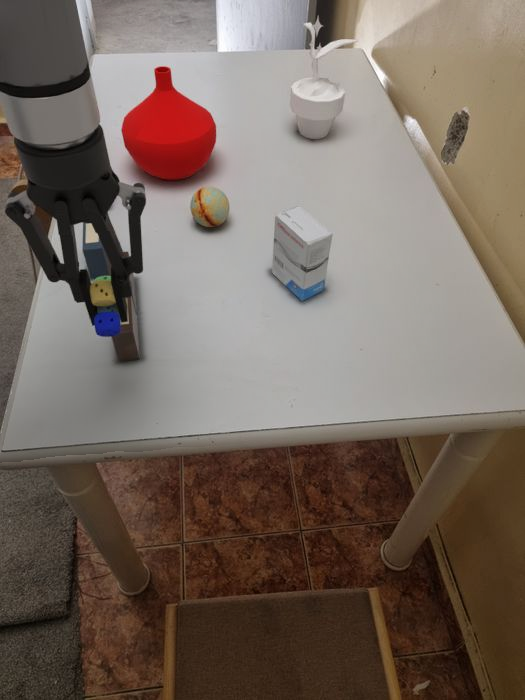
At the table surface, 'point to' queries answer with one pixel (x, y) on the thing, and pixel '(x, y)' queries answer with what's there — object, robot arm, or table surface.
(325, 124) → the potted plant
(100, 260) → the blue block
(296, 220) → the ink box
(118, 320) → the dice
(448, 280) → the table surface
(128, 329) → the brown paneled block
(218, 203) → the ball
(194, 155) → the vase
